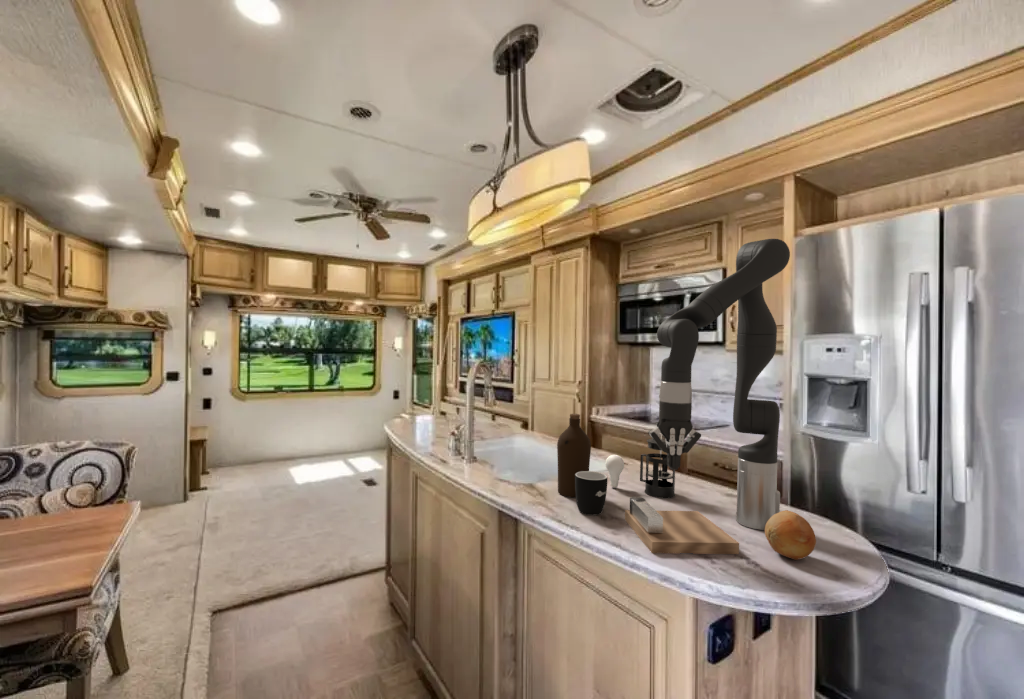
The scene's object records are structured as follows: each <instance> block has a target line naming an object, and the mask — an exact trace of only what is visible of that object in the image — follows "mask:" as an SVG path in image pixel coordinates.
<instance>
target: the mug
mask: <svg viewBox="0 0 1024 699" xmlns="http://www.w3.org/2000/svg"><path fill="white" fill-rule="evenodd" d="M607 489H608V475H606V474H605V473H602V472H600V471H593V470H592V471H591V470H589V471H581V472H577V473H576V474H575V491H576V497H575V499H576V500H575V501H576V505H577V510H578V511H579V512H580V513H581V514H584V515H587V516H598V515H601V514H602V513H603V511H604V509H605V505H606V500H607V491H608V490H607Z"/></svg>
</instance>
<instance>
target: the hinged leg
mask: <svg viewBox="0 0 1024 699" xmlns="http://www.w3.org/2000/svg"><path fill="white" fill-rule="evenodd" d="M628 510H629V512H630V513H631V514H633V516H634V517H635V518H636V519H637V520H638V521H639V523H640V524H641V525H642V526H643V527H644V528H645V530H646V531H647V532H648V533H663V517H662V516H661V515H660V514H659V513H658V512H657V511H658V510H655V508H654V507H653V506H652V505H650V504H649V503H648V501H647V500H646V499H645V498H644V497H640V496H631V497H629V509H628Z"/></svg>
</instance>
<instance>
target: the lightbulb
mask: <svg viewBox="0 0 1024 699" xmlns="http://www.w3.org/2000/svg"><path fill="white" fill-rule="evenodd" d="M605 468H606V470H607V472H608V475H609V482H610V483H609V484H610V485H609V486H610V487H612V488H613V489H616V488H618V486H619V481H620V476H621V474H622V472H623V470H624V468H625V461H624V459H623V457H622V456H620V455H617V454H611V455H609V456H608V457H607V458H606V459H605Z"/></svg>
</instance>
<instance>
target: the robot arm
mask: <svg viewBox="0 0 1024 699" xmlns="http://www.w3.org/2000/svg"><path fill="white" fill-rule="evenodd" d="M790 257H791V251H790V248H789V246H788V244H787V243H786V242H785V241H784V240H782V239H779V238H767V239H761V240H755V241H750V242H749V241H748V242H747V243H743V245H742V246H741V247H740V248H739V249H738V251H737V254H736V257H735V258H736V259H735V272H734V273H732V274H731V275H729V276H727V277H725V278H723V279H721V280H720V281H718V282H716V283H713V285H710V286H709V287H708V288H706V289H704V291H702V292H701V293H700V294H698V296H696V297H695V299H693V300H692V301H691V302H690V303H689V304H688V305H686V306H685V307H683V308H681V309H679V310H677V311H676V312H674V314H673V313H672V315H670V316H668V317H667V318H666V319H664V320H663V321H662V322H661V324H660V325H659V326H658V329H657V332H656V338H657V340H658V342H659V343H660V344H661V345H662V346H664V347H666V348H670V352H669V353H670V354H669V356H668V357H665V358H664V359H663V360H662V362H661V366H660V367H661V368H660V369H661V371H660V378H661V379H660V386H659V395H658V398H659V401H658V404H659V407H658V408H659V410H658V421H657V422H658V423H657V424H656V427H655V428H653V429H651V430H648V436H649V437H651V438H650V439H653V440H654V442H655V443H656V444H657V446H658V447H659V448H660V450H662V451H661V452H662V453H663V452H664V453H665V454H666V455H667V465H668V468H669V469H670V470H672V471H673V470H675V471H678V470H679V468H680V467H681V458H682V456H681V455H682V454H684V453H685V454H688V453H689V452H690V450H692V448H693V447H694V446H695V444H697V442H698V441H699V440H700V439H701V437H702V433H700V432H698V431H696V430H695V429H694V428H693V424H692V410H693V409H692V408H693V407H692V405H693V400H692V399H693V389H692V388H693V387H692V366H693V362H694V359H695V356H696V353H697V348H698V344H699V341H700V340H699V339H700V334H699V330H698V329H700V328H705V327H706V326H707V327H708V325H710V324H712V323H713V322H714V321H715V320H716V319H718V318H719V317H720V316H721V315H722V314H723V313H724V312H725V311H726V310H727V309H729V308H730V307H731V306H732V305H734V304H735V303H736V302H737V307H738V308H737V331H736V381H735V392H734V400H733V401H734V402H733V411H732V413H733V414H732V422H733V423H732V424H733V427H734V430H735V432H737V433H741V434H750V435H760V436H763V437H762V438H761V439H760V440H758V441H755V442H753V443H749V444H745V445H742V446H740V447H738V450H737V488H736V490H737V491H736V521H737V523H738V524H740V525H742V526H745V527H747V528H750V529H754V530H761V531H765V525H766V523H767V521H768V520H769V519H770V518H771V517H772V516H773V515H774V514H776V513H779V512H781V492H780V491H779V490H778V489H777V488H778V487H777V484H778V482H777V481H778V479H777V478H778V449H779V448H778V445H779V443H778V442H779V432H780V431H779V429H780V420H781V418H780V417H781V416H780V413H781V412H780V411H781V410H780V407H779V405H778V403H777V402H776V401H775V400H764V399H751V398H750V399H749V398H748V397H749V393H750V391H751V389H752V386H753V385H754V383H755V381H756V380H757V378H758V377H759V376H760V375H761V373H762V372H763V371H764V369H765V368H767V366H768V365H769V363H770V362H771V361H772V359H773V358H774V356H775V354H776V352H777V340H778V339H777V336H778V329H777V327H778V326H777V323H776V320H775V318H774V316H773V314H772V312H771V310H770V309H769V306H768V305H767V303H766V300H765V298H764V293H763V283H765V282H766V281H768V280H770V279H772V278H773V277H775V276H776V275H778V274H779V273H781V272H782V271H783V270H784V269H785V268H786V267H787V265H788V263H789V262H790ZM661 434H662V438H663V439H665V442H666V446H665V445H664V444H663V442H662V441H661V440H660V439H661ZM660 450H659V451H660Z"/></svg>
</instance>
